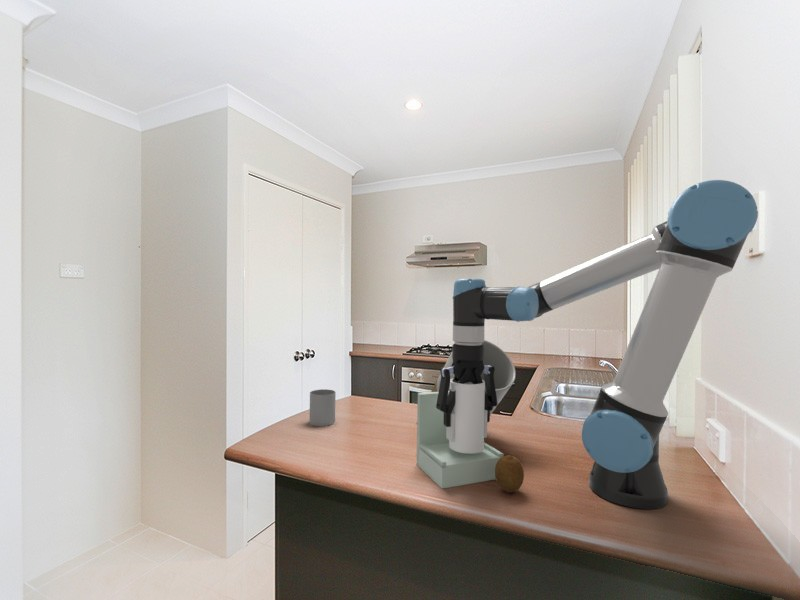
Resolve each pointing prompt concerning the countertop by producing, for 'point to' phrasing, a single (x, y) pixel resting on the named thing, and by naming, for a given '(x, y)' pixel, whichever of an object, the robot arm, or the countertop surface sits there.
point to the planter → (502, 372)
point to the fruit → (509, 473)
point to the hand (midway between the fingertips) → (466, 437)
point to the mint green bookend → (448, 450)
